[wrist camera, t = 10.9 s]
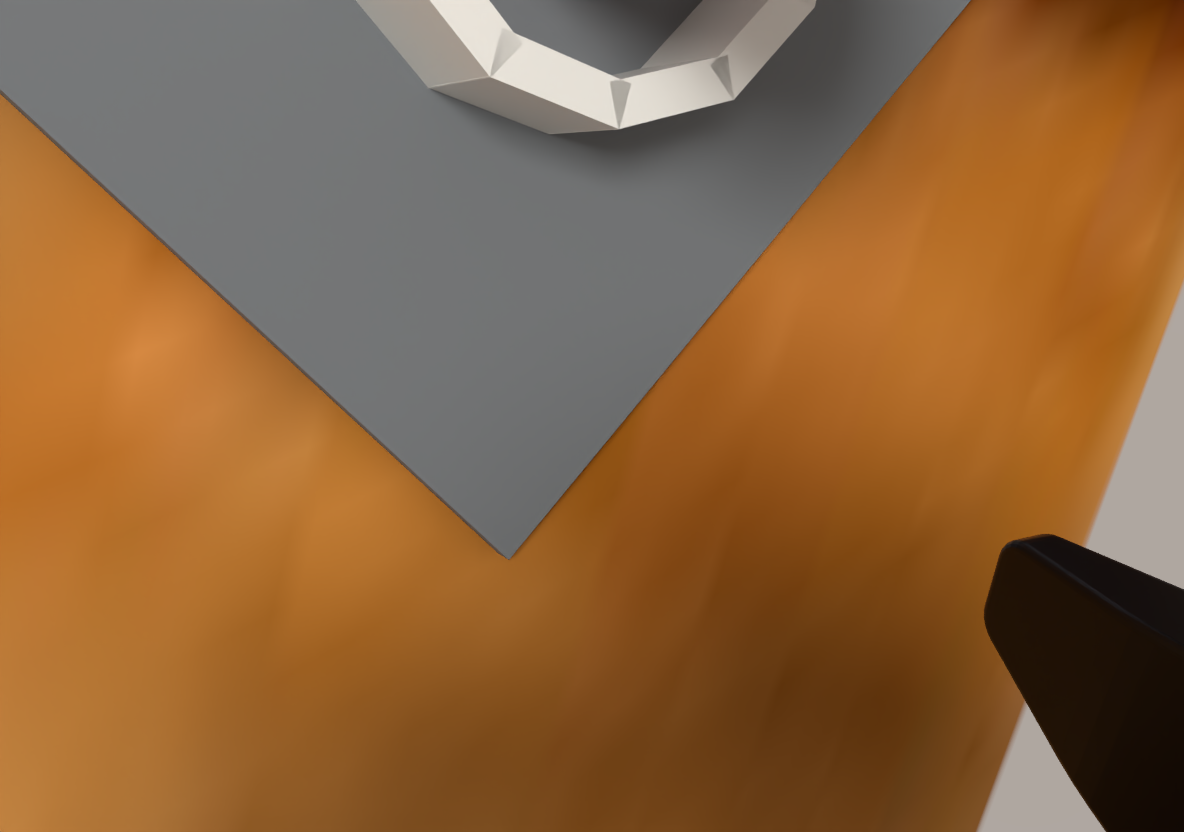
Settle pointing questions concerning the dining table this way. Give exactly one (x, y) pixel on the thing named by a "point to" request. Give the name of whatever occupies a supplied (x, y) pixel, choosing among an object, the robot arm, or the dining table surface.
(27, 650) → the dining table surface
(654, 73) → the collar
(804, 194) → the mat
